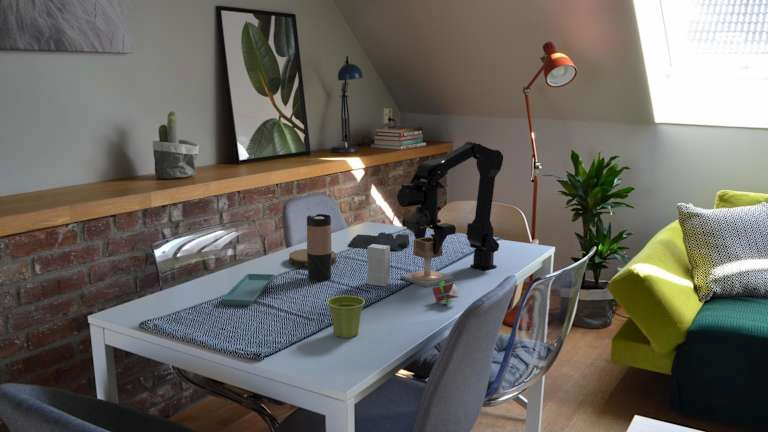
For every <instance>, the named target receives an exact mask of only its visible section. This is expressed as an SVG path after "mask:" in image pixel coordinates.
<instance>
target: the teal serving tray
mask: <svg viewBox="0 0 768 432" xmlns="http://www.w3.org/2000/svg"><path fill="white" fill-rule="evenodd" d="M275 276H276V274H271V273H270V274H269V273H247V274H246V275H244V276H243V277H242V278H241V279H240V280H239V281H237V283H236V284H235V285H234V286H233V287H232V288H231V289H230V290H228V292H227V293H226V294H225V295H224V296H222V297H221V301H222V303H223V305H225V306H237V307H238V306H243V307H244V306H245V307H250V306H252V305H253V304H254V303H255V301H257V299H258V298H259V297H260V296H261V294H262V293H263V292H264V291H265V290H266V289H267V287H269V285H270V284H271V283H272V282H273V281H274V278H275Z"/></svg>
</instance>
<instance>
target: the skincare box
mask: <svg viewBox="0 0 768 432" xmlns="http://www.w3.org/2000/svg"><path fill="white" fill-rule="evenodd" d="M366 250H367V284H368V285H371V286H380V287H386V286H388V285H389V284H390V283H391V251H390V246H386V245H377V244H372V245H370V246H368V247H367V249H366Z"/></svg>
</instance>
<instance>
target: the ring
mask: <svg viewBox="0 0 768 432" xmlns="http://www.w3.org/2000/svg"><path fill="white" fill-rule="evenodd" d="M443 244H444V243H443ZM443 244H442V246H441V248H440V250H439V252H438V254H436V255H434V250H433V238H432V237H431V236H425V237H424V238H419V239H415V238H414V239H413V252H412V253H413V256H415V257H419V258H422V259H424V258H425V259H431V260H432V259H435V258H438V257H443V248H444V247H443Z"/></svg>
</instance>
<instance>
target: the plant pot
mask: <svg viewBox="0 0 768 432" xmlns="http://www.w3.org/2000/svg"><path fill="white" fill-rule="evenodd" d="M365 303H366V300H365V299H364V298H362V297H359V296H354V295H337V296H333V297H331V298H328V299H327V301H326V304H327V305H328V308H329V310H330V311H329V312H330V315H331V322H332V328H333V335H334V336H335V337H336V336H338V337H340V338H343V339H349V338H353V337H355V336H358V335H359V328H360V322H361V316H362V310H363V307H364V305H365Z"/></svg>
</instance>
